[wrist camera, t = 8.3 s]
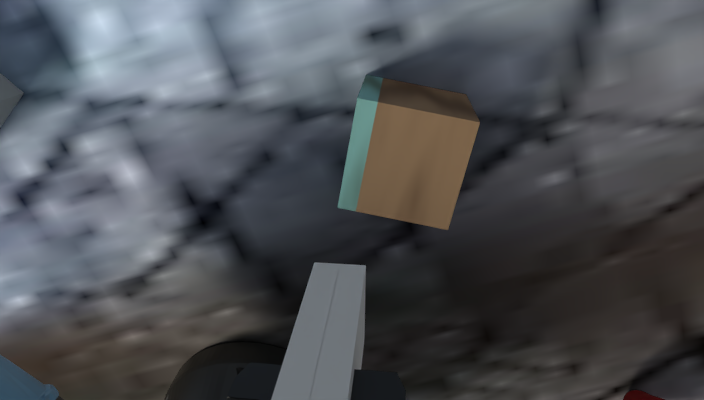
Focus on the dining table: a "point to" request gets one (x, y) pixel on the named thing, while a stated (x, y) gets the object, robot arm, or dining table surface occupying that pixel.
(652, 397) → the strawberry
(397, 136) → the brown and green cube
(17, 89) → the grey block
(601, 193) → the dining table surface
